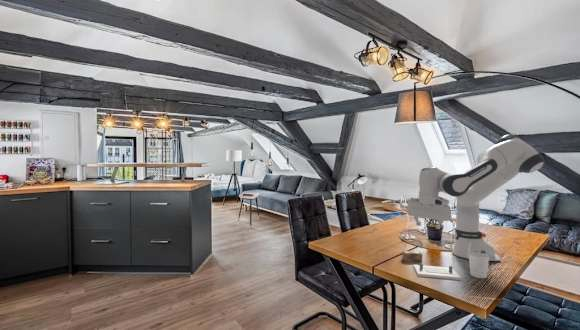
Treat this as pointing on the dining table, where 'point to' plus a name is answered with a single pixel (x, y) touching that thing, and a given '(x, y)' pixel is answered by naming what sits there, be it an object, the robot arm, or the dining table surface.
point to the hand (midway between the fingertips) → (427, 227)
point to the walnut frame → (412, 256)
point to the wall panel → (436, 272)
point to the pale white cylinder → (478, 264)
